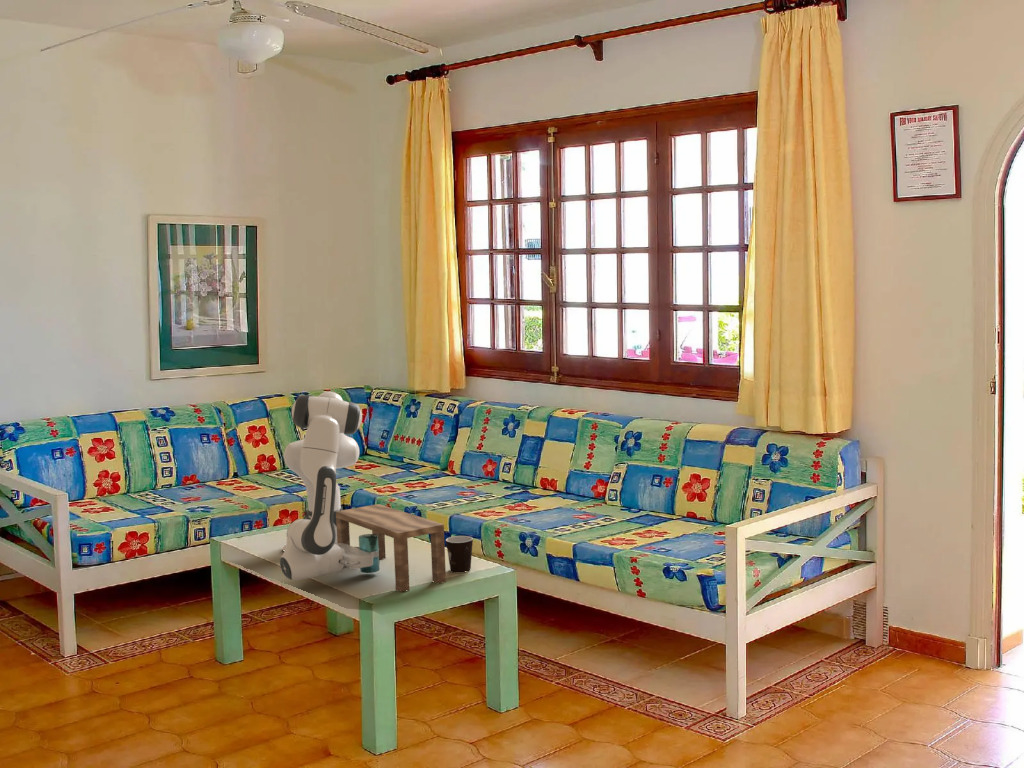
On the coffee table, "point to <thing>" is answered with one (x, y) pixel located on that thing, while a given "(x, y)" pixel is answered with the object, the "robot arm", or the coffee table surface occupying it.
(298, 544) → the robot arm
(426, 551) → the coffee table surface
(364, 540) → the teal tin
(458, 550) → the coffee mug
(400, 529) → the low shelf
